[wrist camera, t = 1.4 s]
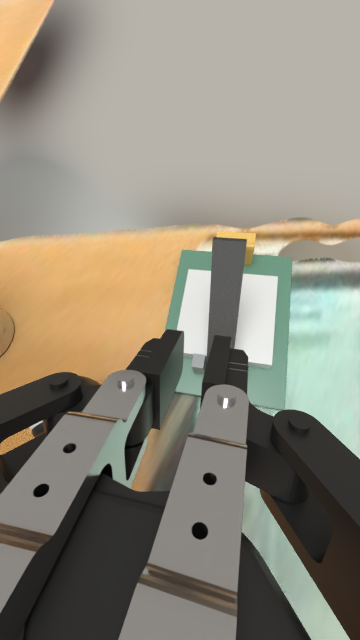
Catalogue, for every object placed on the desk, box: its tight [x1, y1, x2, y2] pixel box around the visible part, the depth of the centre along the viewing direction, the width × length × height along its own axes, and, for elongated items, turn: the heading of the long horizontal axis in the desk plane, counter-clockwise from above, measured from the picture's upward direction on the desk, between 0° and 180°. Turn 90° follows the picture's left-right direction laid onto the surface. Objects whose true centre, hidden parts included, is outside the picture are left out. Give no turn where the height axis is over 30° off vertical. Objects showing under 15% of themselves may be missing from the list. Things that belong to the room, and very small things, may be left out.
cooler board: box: [165, 231, 292, 410], centre depth 38 cm, size 21×16×6 cm
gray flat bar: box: [206, 237, 247, 366], centre depth 31 cm, size 16×3×1 cm
